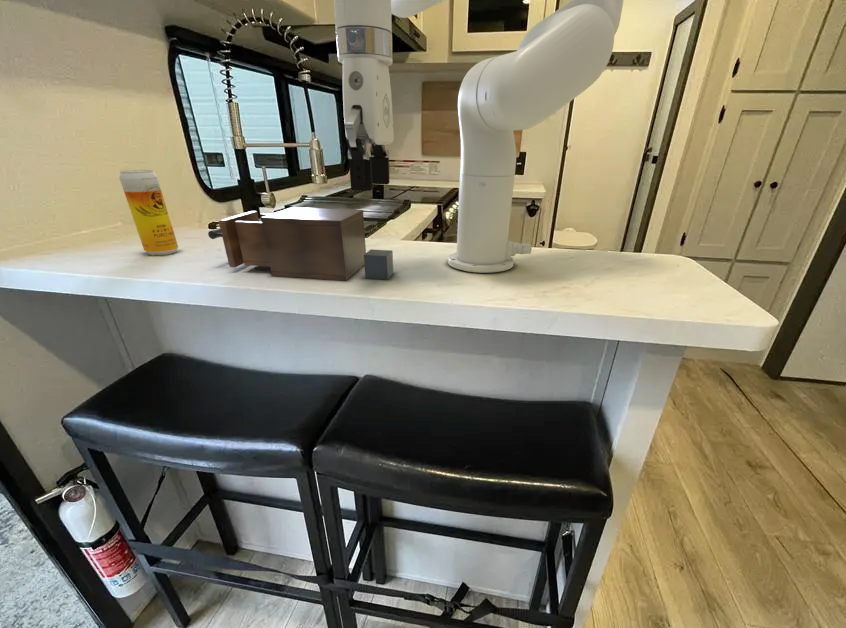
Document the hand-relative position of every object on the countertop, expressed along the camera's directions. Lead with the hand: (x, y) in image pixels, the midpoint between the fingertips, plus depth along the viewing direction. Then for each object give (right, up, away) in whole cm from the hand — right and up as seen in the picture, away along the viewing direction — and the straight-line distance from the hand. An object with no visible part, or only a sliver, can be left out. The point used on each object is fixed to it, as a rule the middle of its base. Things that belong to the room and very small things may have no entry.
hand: (371, 186), depth 66 cm
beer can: (-46, -4, +19) cm, 50 cm away
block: (0, -12, +7) cm, 14 cm away
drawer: (-21, -8, +11) cm, 26 cm away
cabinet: (-11, -10, +10) cm, 18 cm away
